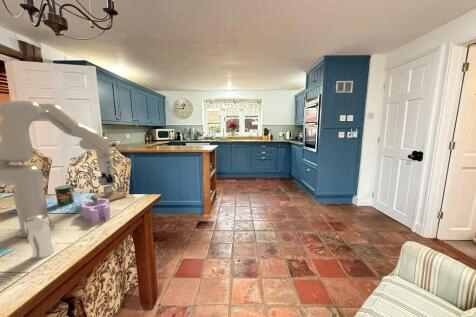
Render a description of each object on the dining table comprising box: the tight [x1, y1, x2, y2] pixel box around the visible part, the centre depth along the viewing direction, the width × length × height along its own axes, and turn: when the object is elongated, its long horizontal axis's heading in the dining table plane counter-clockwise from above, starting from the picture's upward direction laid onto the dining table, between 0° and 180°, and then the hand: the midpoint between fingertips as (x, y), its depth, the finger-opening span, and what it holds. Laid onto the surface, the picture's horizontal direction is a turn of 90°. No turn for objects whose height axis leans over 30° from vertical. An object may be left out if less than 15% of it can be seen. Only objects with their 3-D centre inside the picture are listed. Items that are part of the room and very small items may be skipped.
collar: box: [98, 174, 117, 187], centre depth 134 cm, size 7×7×5 cm
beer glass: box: [24, 214, 55, 260], centre depth 76 cm, size 7×7×15 cm
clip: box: [80, 198, 111, 224], centre depth 109 cm, size 20×12×7 cm, turn 46°
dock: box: [91, 185, 127, 203], centre depth 135 cm, size 18×14×8 cm
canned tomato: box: [54, 184, 75, 207], centre depth 126 cm, size 8×8×11 cm
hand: (107, 181), depth 134 cm, fingers closed on collar, 7 cm apart
